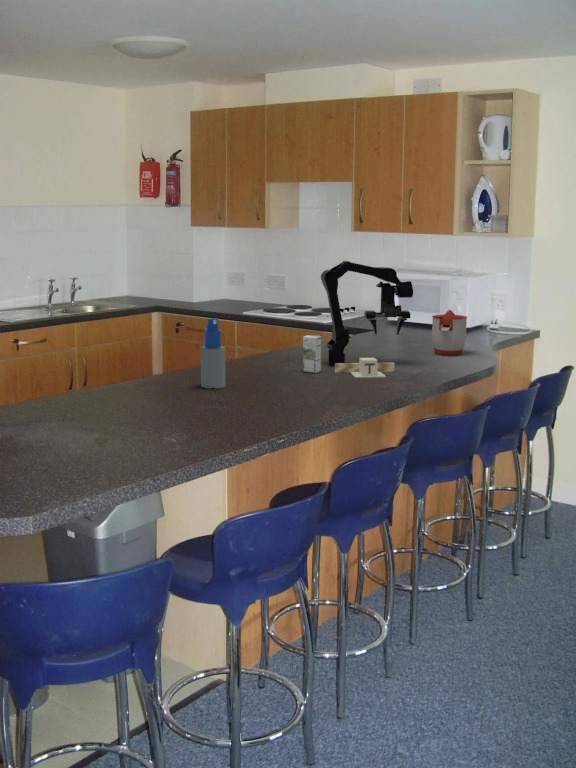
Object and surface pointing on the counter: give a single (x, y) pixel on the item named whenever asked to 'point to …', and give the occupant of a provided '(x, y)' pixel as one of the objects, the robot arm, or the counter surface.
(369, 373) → the letter cube
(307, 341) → the syrup box
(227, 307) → the counter surface
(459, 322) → the citrus juicer
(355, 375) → the sage mat
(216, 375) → the spray bottle
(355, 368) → the birch screen
